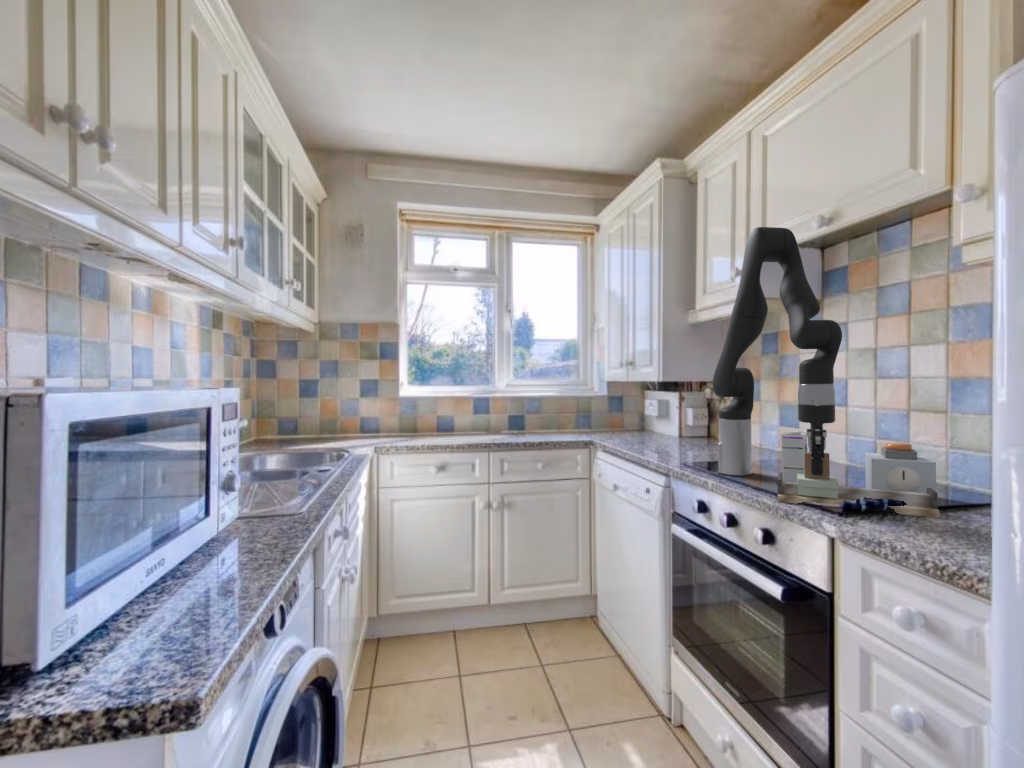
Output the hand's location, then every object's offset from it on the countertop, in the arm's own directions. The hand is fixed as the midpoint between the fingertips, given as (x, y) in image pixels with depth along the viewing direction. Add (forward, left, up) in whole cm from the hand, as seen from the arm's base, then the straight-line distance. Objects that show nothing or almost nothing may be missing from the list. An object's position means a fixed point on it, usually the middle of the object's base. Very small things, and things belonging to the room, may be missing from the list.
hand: (816, 473), depth 115 cm
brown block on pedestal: (0, 0, -5) cm, 5 cm away
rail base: (+7, 0, -7) cm, 10 cm away
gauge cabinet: (+18, +13, -7) cm, 23 cm away
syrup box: (-4, +18, -7) cm, 20 cm away
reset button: (+18, +13, +4) cm, 22 cm away
